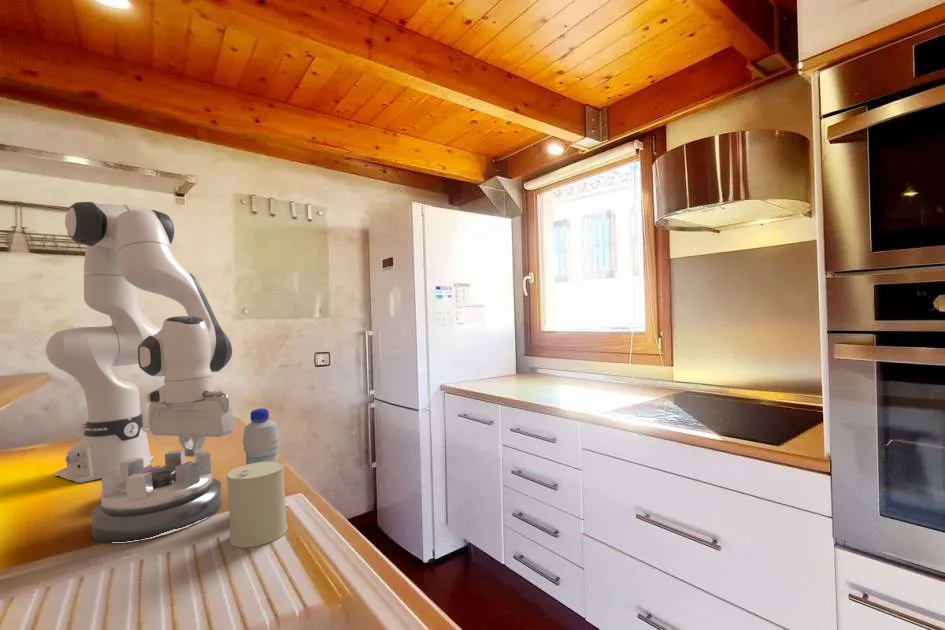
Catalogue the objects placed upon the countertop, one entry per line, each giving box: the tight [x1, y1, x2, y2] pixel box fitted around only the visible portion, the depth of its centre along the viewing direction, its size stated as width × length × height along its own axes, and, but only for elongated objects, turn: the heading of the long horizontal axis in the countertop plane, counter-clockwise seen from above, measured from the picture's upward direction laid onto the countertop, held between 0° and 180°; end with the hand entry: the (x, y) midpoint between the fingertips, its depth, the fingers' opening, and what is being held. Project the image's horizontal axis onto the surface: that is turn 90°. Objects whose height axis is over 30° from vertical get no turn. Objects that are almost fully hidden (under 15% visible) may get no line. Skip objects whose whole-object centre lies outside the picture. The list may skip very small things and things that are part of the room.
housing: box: [90, 477, 223, 544], centre depth 89 cm, size 21×21×4 cm
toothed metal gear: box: [100, 448, 213, 516], centre depth 89 cm, size 18×18×6 cm
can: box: [226, 461, 288, 549], centre depth 79 cm, size 9×9×12 cm
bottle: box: [242, 408, 280, 465], centre depth 91 cm, size 7×7×20 cm
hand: (193, 456), depth 96 cm, fingers closed
